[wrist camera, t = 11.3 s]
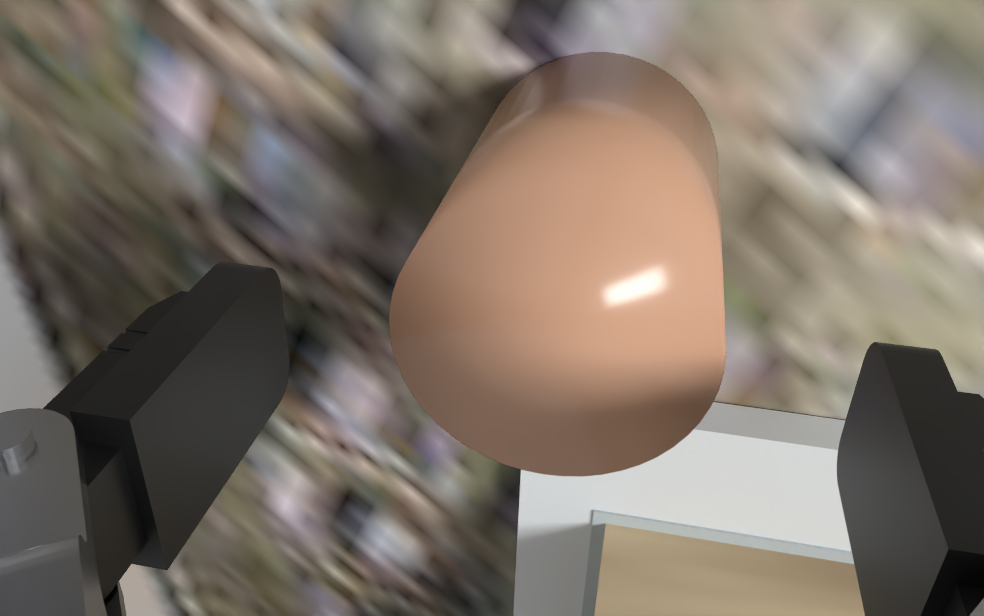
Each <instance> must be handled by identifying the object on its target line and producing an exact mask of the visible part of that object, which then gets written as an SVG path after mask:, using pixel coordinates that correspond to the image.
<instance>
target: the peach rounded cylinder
mask: <svg viewBox="0 0 984 616" xmlns="http://www.w3.org/2000/svg"><path fill="white" fill-rule="evenodd" d="M389 330H390V338H391V345H392V349H393V353H394V356H395V360H396V363H397V366H398V368H399V370H400V373H401V375H402V377H403V380H404V381H405V383H406V385H407V386H408V388H409V390H410V391H411V393H412V395H413V396H414V398H415V399H416V400H417V402H418V403H419V404H420V405H421V407H422V408H423V409H424V411H425V412H426V413H427V414H428V415H429V416H430V417H431V418H432V419H433V420H434V421H435V422H436V423H437V424H438V425H439V426H440V427H442V428H443V429H444V430H445V431H446V432H448V433H449V434H450V435H451V436H452V437H454V438H455V439H457V440H458V441H460V442H461V443H463V444H464V445H466V446H467V447H469V448H471V449H472V450H474V451H476V452H478V453H480V454H482V455H484V456H485V457H488V458H490V459H493V460H495V461H497V462H500V463H502V464H505V465H508V466H511V467H515V468H518V469H521V470H525V471H530V472H534V473H539V474H545V475H555V476H581V477H583V476H593V475H603V474H608V473H613V472H618V471H622V470H626V469H629V468H632V467H635V466H638V465H641V464H643V463H645V462H647V461H650V460H652V459H654V458H656V457H658V456H660V455H661V454H663V453H665V452H666V451H668V450H670V449H671V448H673V447H674V446H676V445H677V444H678V443H679V442H680V441H682V440H683V439H684V438H685V437H687V436H688V435H689V434H690V433H691V432H692V431H693V429H694V428H695V427H696V426H697V425H698V424H699V423H700V422H701V420H702V419H703V418H704V416H705V415H706V413H707V412H708V410H709V409H710V407H711V406H712V403H713V401H714V399H715V397H716V395H717V393H718V391H719V388H720V385H721V381H722V378H723V374H724V369H725V360H726V335H725V312H724V289H723V266H722V243H721V220H720V198H719V175H718V152H717V147H716V142H715V137H714V134H713V131H712V128H711V125H710V123H709V121H708V119H707V117H706V115H705V113H704V111H703V109H702V108H701V106H700V105H699V103H698V102H697V101H696V99H695V98H694V96H693V95H692V94H691V93H690V92H689V91H688V90H687V89H686V88H685V87H684V86H683V85H682V84H681V83H680V82H679V81H677V80H676V79H675V78H674V77H672V76H671V75H670V74H668V73H667V72H665V71H663V70H662V69H660V68H658V67H657V66H655V65H652V64H650V63H648V62H646V61H643V60H641V59H638V58H634V57H630V56H627V55H622V54H615V53H608V52H590V53H581V54H574V55H570V56H566V57H563V58H559V59H557V60H554V61H552V62H549V63H547V64H544V65H543V66H541V67H539V68H537V69H536V70H534V71H532V72H531V73H529V74H528V75H527V76H525V77H524V78H523V79H521V80H520V81H519V82H518V83H517V84H516V85H515V86H514V87H513V88H512V89H511V90H510V91H509V92H508V93H507V95H506V96H505V97H504V99H503V100H502V101H501V103H500V104H499V106H498V107H497V109H496V111H495V112H494V114H493V116H492V117H491V119H490V121H489V122H488V124H487V126H486V127H485V129H484V131H483V133H482V134H481V136H480V138H479V139H478V141H477V143H476V144H475V146H474V148H473V149H472V151H471V153H470V154H469V156H468V158H467V159H466V161H465V163H464V165H463V166H462V168H461V170H460V171H459V173H458V175H457V176H456V178H455V180H454V181H453V183H452V185H451V186H450V188H449V190H448V192H447V193H446V195H445V197H444V198H443V200H442V202H441V203H440V205H439V207H438V208H437V210H436V212H435V213H434V215H433V217H432V218H431V220H430V222H429V224H428V225H427V227H426V229H425V230H424V232H423V234H422V235H421V237H420V239H419V240H418V242H417V244H416V245H415V247H414V249H413V250H412V252H411V254H410V256H409V257H408V259H407V261H406V263H405V264H404V266H403V268H402V270H401V272H400V274H399V276H398V279H397V282H396V284H395V287H394V290H393V294H392V299H391V305H390V315H389Z"/></svg>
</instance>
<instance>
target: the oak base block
mask: <svg viewBox="0 0 984 616" xmlns="http://www.w3.org/2000/svg"><path fill="white" fill-rule="evenodd" d="M594 616H865V613H864V608H863V603H862V599H861V594H860V589H859V584H858V579H857V575H856V570H855V565H854V564H849V563H843V562H837V561H831V560H825V559H819V558H813V557H807V556H801V555H795V554H789V553H783V552H776V551H770V550H764V549H758V548H752V547H746V546H740V545H734V544H728V543H722V542H716V541H710V540H704V539H698V538H691V537H685V536H679V535H673V534H667V533H661V532H655V531H649V530H643V529H637V528H631V527H625V526H619V525H613V524H606V526H605V533H604V541H603V549H602V556H601V564H600V572H599V579H598V587H597V595H596V603H595V610H594Z"/></svg>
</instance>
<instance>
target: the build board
mask: <svg viewBox="0 0 984 616" xmlns="http://www.w3.org/2000/svg"><path fill="white" fill-rule="evenodd" d="M845 421H846V420H839V419H831V418H824V417H817V416H810V415H803V414H796V413H788V412H781V411H774V410H767V409H760V408H753V407H745V406H738V405H731V404H724V403H717V402H713V403H712V406H711V407H710V409H709V410H708V412H707V413H706V415H705V416H704V418H703V419H702V420H701V422H700V423H699V424H698V425H697V426H696V427H695V428H694V429H693V431H692V432H691V433H690V434H689V435H688V436H687V437H685V438H684V439H683V440H682V441H680V442H679V443H678V444H677V445H676V446H674V447H673V448H671V449H670V450H668V451H666V452H665V453H663V454H661V455H660V456H658V457H656V458H654V459H652V460H650V461H647V462H645V463H643V464H641V465H638V466H635V467H632V468H629V469H626V470H622V471H618V472H613V473H608V474H603V475H593V476H583V477H581V476H555V475H545V474H539V473H534V472H530V471H525V470H521V478H520V497H519V516H518V535H517V554H516V573H515V592H514V611H513V616H594V610H595V603H596V595H597V587H598V579H599V572H600V564H601V556H602V549H603V541H604V533H605V526H606V524H613V525H619V526H625V527H631V528H637V529H643V530H649V531H655V532H661V533H667V534H673V535H679V536H685V537H691V538H698V539H704V540H710V541H716V542H722V543H728V544H734V545H740V546H746V547H752V548H758V549H764V550H770V551H776V552H783V553H789V554H795V555H801V556H807V557H813V558H819V559H825V560H831V561H837V562H843V563H849V564H854V560H853V555H852V551H851V546H850V541H849V536H848V531H847V527H846V522H845V517H844V512H843V508H842V503H841V498H840V493H839V488H838V483H837V455H838V448H839V442H840V438H841V434H842V431H843V427H844V424H845Z"/></svg>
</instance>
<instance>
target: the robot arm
mask: <svg viewBox="0 0 984 616" xmlns="http://www.w3.org/2000/svg"><path fill="white" fill-rule="evenodd" d="M289 365H290V361H289V351H288V343H287V335H286V327H285V319H284V310H283V302H282V294H281V286H280V281H279V277H278V275H277V273H276V271H275V270H274V269H272V268H268V267H259V266H251V265H243V264H234V263H226V262H220V263H218V264H216V265H215V266H214V267H213V268H212V269H211V270H210V271H209V272H208V273H207V274H206V275H205V276H204V277H203V278H202V279H201V280H200V281H199V282H198V283H197V284H196V285H195V286H194V287H193V288H192V289H191V290H190V291H189V292H182V291H181V292H179V293H177V294H175V295H173V296H171V297H169V298H167V299H165V300H163V301H161V302H159V303H157V304H155V305H153V306H151V307H149V308H148V309H147V310H146V311H145V312H144V313H142V314H141V315H140V316H139V317H138V318H137V319H136V320H135V321H134V322H133V323H132V324H131V325H130V326H129V327H128V328H127V329H126V333H125V334H120V335H119V336H118V337H117V338H116V339H115V340H114V341H113V342H112V343H111V344H110V345H109V346H108V350H107V352H105V351H103V352H102V353H101V354H100V355H98V356H97V357H96V358H95V359H94V360H93V361H92V362H91V363H90V364H89V365H88V366H87V367H86V368H85V369H84V370H83V371H82V372H81V373H80V374H79V375H78V376H77V377H75V378H74V379H73V380H72V381H71V382H70V383H69V384H68V385H67V386H66V387H65V388H64V389H63V390H62V391H61V392H60V393H59V394H58V395H57V396H56V397H55V398H53V399H52V400H51V401H50V402H49V403H48V404H47V405H46V406H45V407H44V408H43V409H30V408H29V409H17V410H12V411H7V412H3V413H0V616H126V611H125V604H124V597H123V594H122V590H121V587H120V583H119V580H120V579H121V577H122V576H123V575H124V573H125V572H126V571H127V569H128V568H129V566H130V565H131V564H136V565H142V566H147V567H153V568H158V569H164V570H168V568H169V567H170V565H171V564H172V562H173V561H174V559H175V558H176V556H177V555H178V553H179V552H180V550H181V549H182V547H183V546H184V544H185V543H186V542H187V540H188V539H189V537H190V536H191V534H192V533H193V531H194V530H195V528H196V527H197V525H198V524H199V522H200V521H201V519H202V518H203V516H204V515H205V513H206V512H207V510H208V509H209V507H210V506H211V504H212V503H213V501H214V500H215V498H216V497H217V495H218V494H219V492H220V491H221V489H222V488H223V486H224V485H225V483H226V482H227V480H228V479H229V477H230V476H231V474H232V473H233V472H234V470H235V469H236V467H237V466H238V464H239V463H240V461H241V460H242V458H243V457H244V455H245V454H246V452H247V451H248V449H249V448H250V446H251V445H252V443H253V442H254V440H255V439H256V437H257V436H258V434H259V433H260V431H261V430H262V428H263V427H264V425H265V424H266V422H267V421H268V419H269V418H270V416H271V415H272V413H273V412H274V410H275V409H276V407H277V406H278V404H279V403H280V401H281V400H282V397H283V395H284V392H285V390H286V386H287V382H288V377H289ZM837 483H838V488H839V493H840V498H841V503H842V508H843V512H844V517H845V522H846V527H847V531H848V536H849V541H850V546H851V551H852V555H853V560H854V565H855V570H856V575H857V579H858V584H859V589H860V594H861V599H862V603H863V608H864V613H865V616H984V398H982V397H981V396H980V395H979V394H972V393H964V392H957V389H956V387H955V385H954V382H953V380H952V378H951V376H950V373H949V371H948V369H947V367H946V364H945V362H944V360H943V357H942V355H941V354H940V352H939V351H938V350H936V349H928V348H920V347H912V346H903V345H895V344H887V343H878V342H874V343H872V344H871V345H870V347H869V348H868V350H867V352H866V355H865V358H864V361H863V364H862V367H861V371H860V374H859V377H858V381H857V384H856V387H855V391H854V394H853V397H852V401H851V404H850V407H849V411H848V414H847V417H846V421H845V424H844V427H843V431H842V434H841V438H840V442H839V448H838V455H837Z"/></svg>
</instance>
